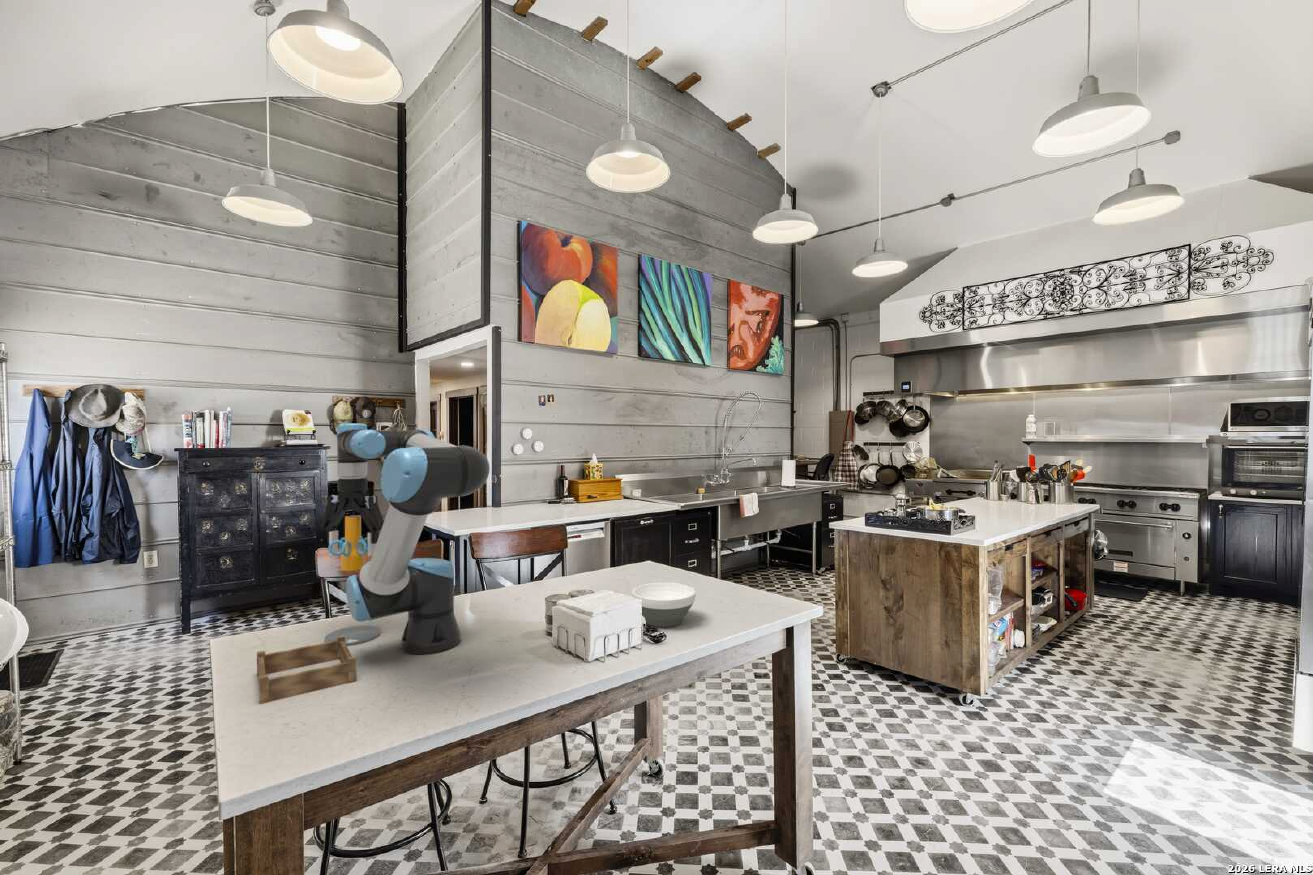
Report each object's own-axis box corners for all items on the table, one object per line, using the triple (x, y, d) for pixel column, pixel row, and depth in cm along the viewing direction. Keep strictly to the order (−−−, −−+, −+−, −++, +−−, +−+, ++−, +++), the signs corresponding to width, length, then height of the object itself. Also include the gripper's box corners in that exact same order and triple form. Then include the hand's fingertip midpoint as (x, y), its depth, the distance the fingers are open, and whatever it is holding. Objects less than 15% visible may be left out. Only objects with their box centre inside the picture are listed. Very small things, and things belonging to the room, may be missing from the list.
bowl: (656, 607, 185) (656, 579, 185) (707, 619, 174) (707, 588, 174) (619, 624, 170) (619, 592, 170) (672, 637, 158) (672, 604, 158)
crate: (343, 655, 145) (343, 635, 145) (356, 680, 130) (356, 657, 130) (256, 674, 134) (256, 651, 134) (259, 703, 119) (259, 678, 119)
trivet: (390, 629, 165) (390, 626, 165) (359, 647, 151) (359, 644, 151) (347, 627, 167) (347, 624, 167) (312, 644, 153) (312, 641, 153)
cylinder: (344, 564, 165) (343, 513, 164) (380, 563, 165) (380, 513, 165) (322, 574, 152) (322, 519, 152) (362, 573, 153) (362, 519, 153)
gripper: (398, 476, 161) (399, 552, 161) (324, 476, 164) (324, 550, 164) (382, 479, 153) (382, 558, 154) (305, 478, 157) (305, 556, 157)
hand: (352, 554), depth 159 cm, fingers closed on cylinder, 11 cm apart
